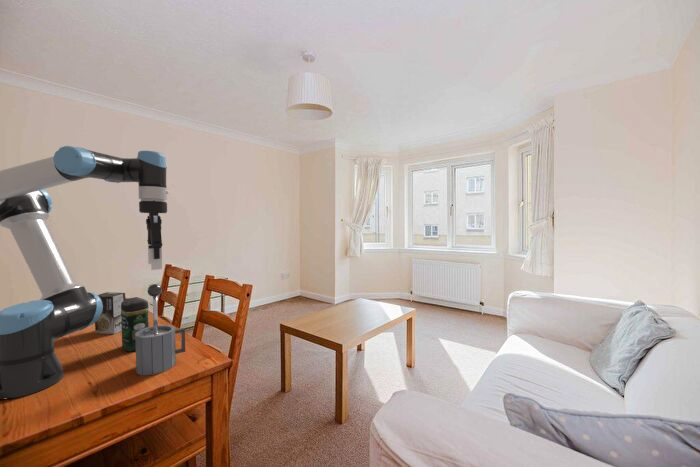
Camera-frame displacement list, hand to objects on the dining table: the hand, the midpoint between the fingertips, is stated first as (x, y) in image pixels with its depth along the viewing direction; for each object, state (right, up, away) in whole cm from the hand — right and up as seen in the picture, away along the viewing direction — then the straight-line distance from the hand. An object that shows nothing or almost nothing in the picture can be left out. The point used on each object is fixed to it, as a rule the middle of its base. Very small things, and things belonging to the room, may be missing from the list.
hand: (154, 266), depth 97 cm
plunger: (-1, -23, +1) cm, 23 cm away
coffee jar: (-18, -33, +16) cm, 41 cm away
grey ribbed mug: (+1, -33, +3) cm, 33 cm away
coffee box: (-39, -31, +31) cm, 59 cm away
